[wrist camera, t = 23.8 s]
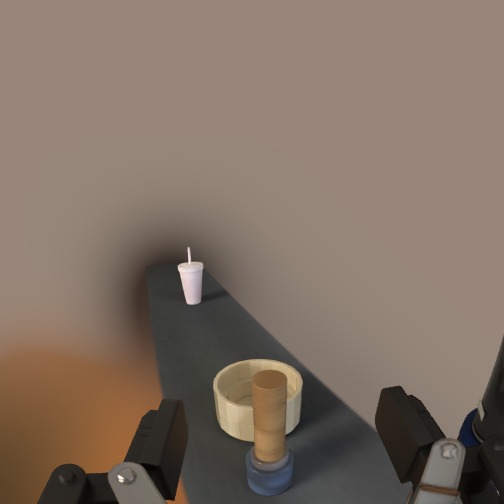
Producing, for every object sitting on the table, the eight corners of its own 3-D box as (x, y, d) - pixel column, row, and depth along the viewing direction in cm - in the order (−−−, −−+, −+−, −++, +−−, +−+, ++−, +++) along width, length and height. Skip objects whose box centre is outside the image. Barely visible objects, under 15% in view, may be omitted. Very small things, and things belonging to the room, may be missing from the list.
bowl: (304, 397, 41) (307, 362, 39) (293, 450, 31) (295, 414, 29) (232, 389, 43) (229, 355, 42) (205, 436, 33) (199, 400, 32)
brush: (295, 467, 28) (302, 365, 25) (287, 498, 24) (294, 399, 21) (253, 461, 29) (248, 361, 26) (242, 492, 25) (232, 392, 22)
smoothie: (203, 296, 83) (199, 244, 80) (208, 304, 77) (204, 248, 74) (179, 299, 81) (174, 246, 78) (183, 307, 75) (177, 251, 72)
